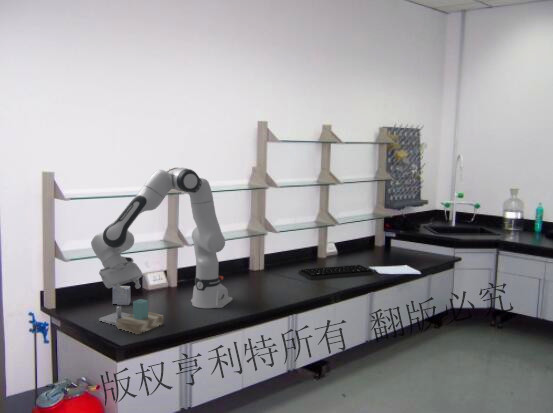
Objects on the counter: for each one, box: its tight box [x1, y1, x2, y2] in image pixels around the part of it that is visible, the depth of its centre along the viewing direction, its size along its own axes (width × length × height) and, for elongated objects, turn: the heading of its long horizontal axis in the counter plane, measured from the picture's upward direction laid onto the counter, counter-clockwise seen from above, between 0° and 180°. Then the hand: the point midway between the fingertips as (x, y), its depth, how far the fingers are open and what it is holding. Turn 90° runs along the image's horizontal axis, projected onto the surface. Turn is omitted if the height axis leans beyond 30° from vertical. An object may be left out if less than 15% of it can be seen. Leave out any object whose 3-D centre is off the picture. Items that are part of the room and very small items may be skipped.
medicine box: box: [112, 285, 131, 306], centre depth 274 cm, size 8×4×9 cm, turn 92°
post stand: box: [98, 305, 132, 327], centre depth 251 cm, size 12×12×6 cm
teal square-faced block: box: [132, 298, 149, 320], centre depth 245 cm, size 5×5×8 cm
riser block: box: [116, 311, 164, 335], centre depth 245 cm, size 16×12×4 cm
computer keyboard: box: [298, 264, 375, 281], centre depth 349 cm, size 45×16×4 cm, turn 115°
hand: (131, 290), depth 246 cm, fingers open, 8 cm apart
